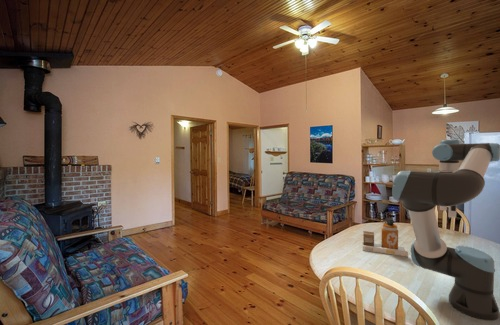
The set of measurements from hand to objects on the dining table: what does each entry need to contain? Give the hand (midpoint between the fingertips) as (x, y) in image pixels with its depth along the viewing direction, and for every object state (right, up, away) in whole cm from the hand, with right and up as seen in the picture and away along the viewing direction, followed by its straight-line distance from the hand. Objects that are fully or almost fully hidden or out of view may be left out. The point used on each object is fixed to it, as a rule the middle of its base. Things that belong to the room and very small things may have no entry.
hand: (447, 213), depth 122 cm
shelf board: (-14, -30, +32) cm, 46 cm away
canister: (-11, -29, +32) cm, 44 cm away
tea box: (-22, -29, +36) cm, 51 cm away
